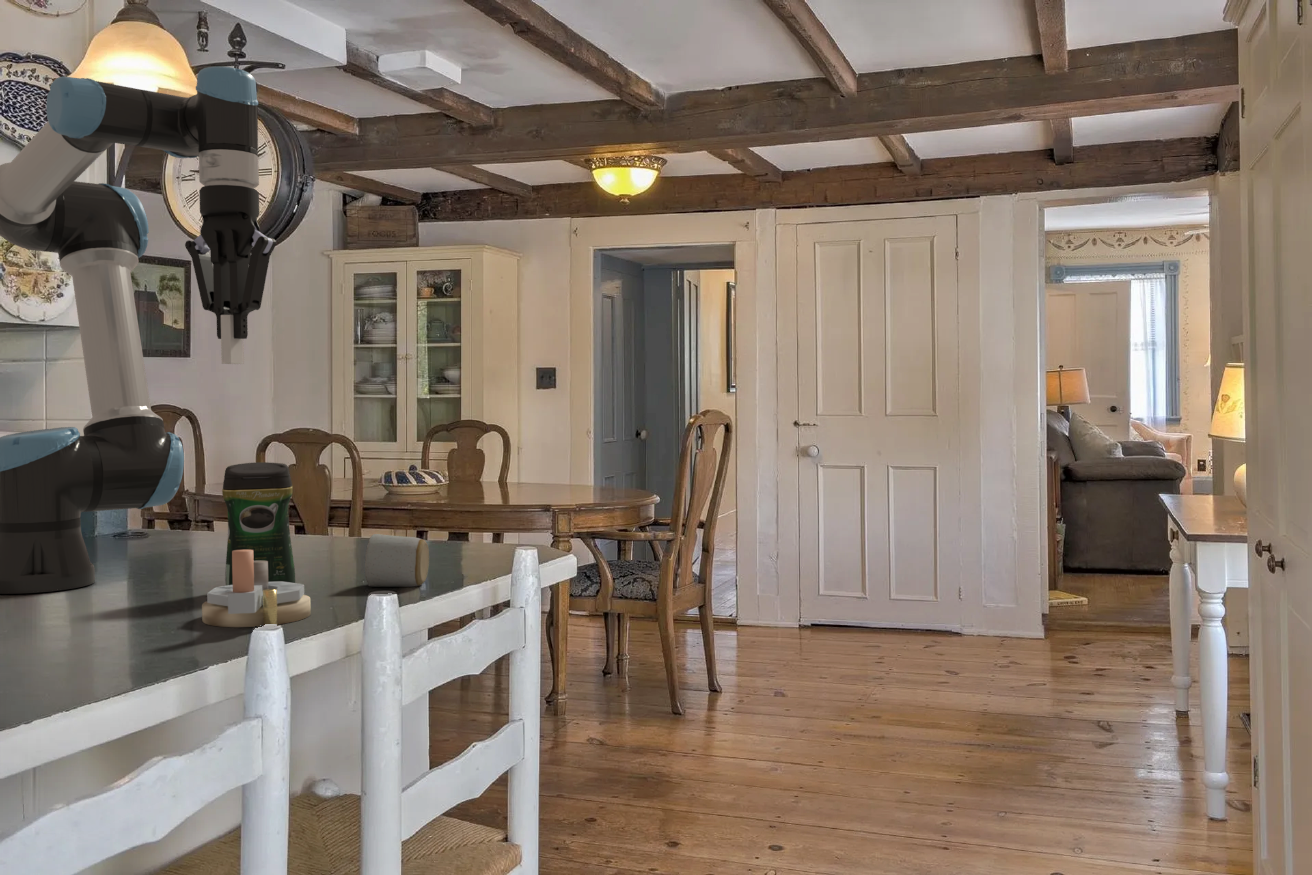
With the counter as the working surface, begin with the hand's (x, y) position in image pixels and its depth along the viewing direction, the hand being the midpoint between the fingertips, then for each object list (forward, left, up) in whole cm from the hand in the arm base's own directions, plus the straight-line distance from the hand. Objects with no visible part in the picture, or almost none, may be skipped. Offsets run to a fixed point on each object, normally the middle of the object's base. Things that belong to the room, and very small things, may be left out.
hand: (232, 363), depth 156 cm
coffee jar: (-3, +9, -33) cm, 34 cm away
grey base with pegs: (+10, -10, -30) cm, 33 cm away
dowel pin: (+15, -13, -32) cm, 38 cm away
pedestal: (+9, -8, -32) cm, 35 cm away
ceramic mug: (+13, +20, -33) cm, 40 cm away
